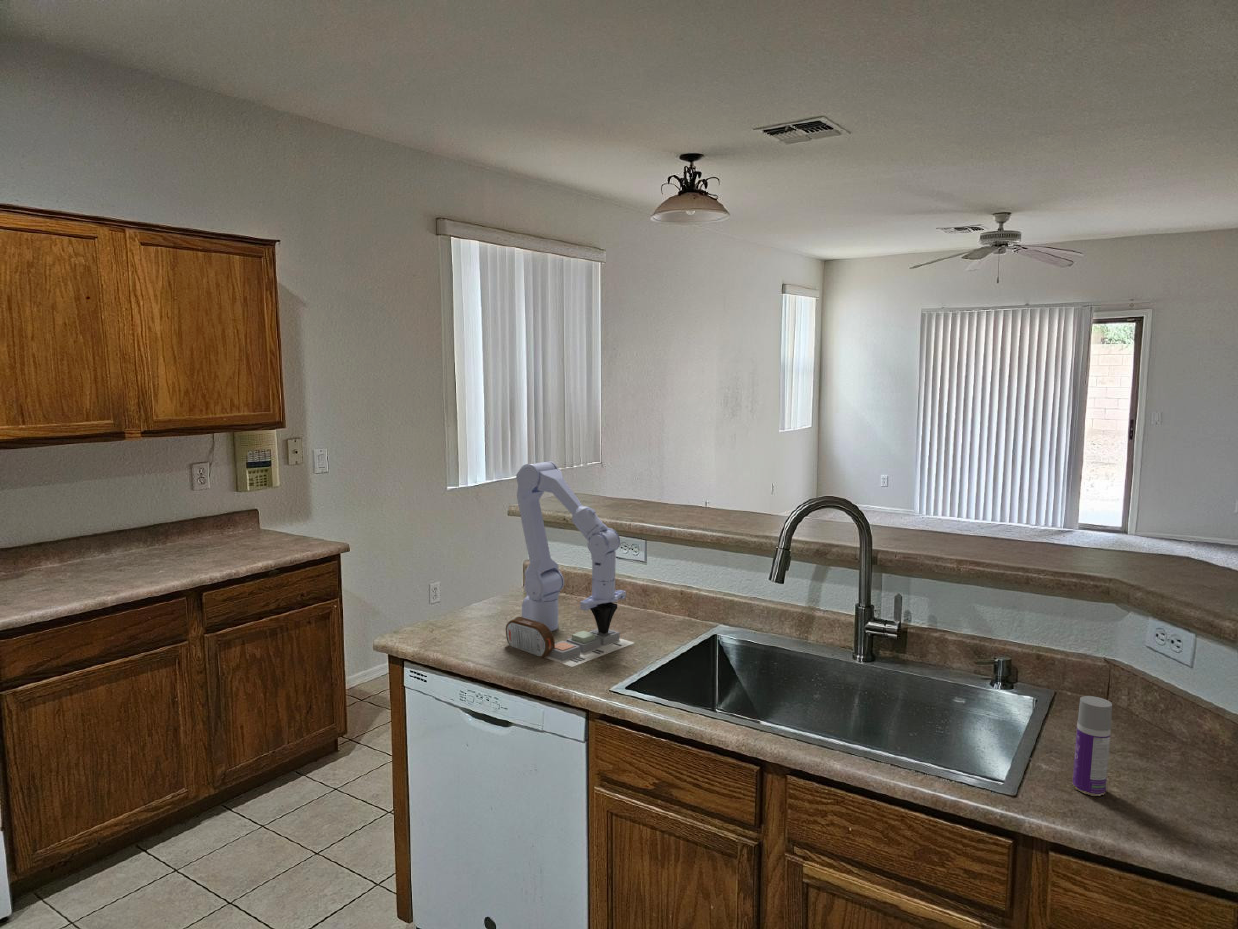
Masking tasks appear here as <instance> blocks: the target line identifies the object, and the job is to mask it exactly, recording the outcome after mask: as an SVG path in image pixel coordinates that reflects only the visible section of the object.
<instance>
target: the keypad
mask: <svg viewBox="0 0 1238 929" xmlns="http://www.w3.org/2000/svg"><path fill="white" fill-rule="evenodd" d="M596 630H598V628H596V629H593V630H591V631H588V632H589V633H592V632H593V631H596ZM609 630H610V631H613V632H614V633H613V634H610V635H607V636H604V637H603V636H600V635H596V634H595V640H593V641H590V642H588V643H585V644H583V643H580V642H577V641H573V640H572V637H569V638H566V640H560V641H558V642H555V645H556V644H558V643H561V642H565V643H568V644H571V645H574V646H575V647H574V648H571V649H568V650H565V651H560V650H557V649H552V651H551V653H550V654H549V655H548V656H547V657H544V659H548V660H551V661H554V662H556V663H560V664H563V665H565V666H568V667H571V668H573V667H576V666H579V665H581V664H583V663H586V662H589V661H591V660H594V659H597V658H599V657H602V656H605V655H607V654H610V653H612V652H615V651H619V650H621V649H623V648H626V647H628V646H631V645H633V644H635V642H634V641H630V640H627V639H623V638H620V633H621V632H620V631H618V630H617V631H616V630H613V629H610V628H609ZM592 634H593V633H592Z"/></svg>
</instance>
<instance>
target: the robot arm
mask: <svg viewBox="0 0 1238 929" xmlns="http://www.w3.org/2000/svg"><path fill="white" fill-rule="evenodd" d="M563 475H564V474H563V471H562V470H561V469H559V468H558V466H557V464H556V463H555V462H553V461H550V460H546V461H542V462H535V463H527V464H523V465H522V466H521V467H520V468H519V470H518V472H516V475H515V476H516V482H517V489H516V490H517V491H516V500H517V506H518V509H519V514H520V520H521V525H522V530H523V535H524V540H525V544H526V549H527V550H526V551H527V555H528V561H529V563H528V566H527V567H526V568H525V571H524V578H525V579H524V591H525V594H526V596H525V597H524V598H523V601H522V604H521V617H523V618H526V619H530V620H533V621H537V622H541V623H543V624H545V625H546V626H547V627H548V628H549V629H550V631H551V632H553V631H555V630H556V631H557V630H558V628H559V596H560V592H561V591H562V590H563V588H564V585H565V578H564V576H563V574H562V572H561V571H560V567H559V563H557V562H556V561H555V560H553V559H552V558H551V553H550V547H549V543H548V538H547V533H546V528H545V523H544V518H543V513H542V507H541V503H540V499H541V497H542V496H543V495H544V493H545V492H546V493H550V494H553V495H554V496H555V497H556V499H557V500H558V501H559V502H560V503H561V505H563V506H564V508H565V509H566V510H567V511H568V512H569V513H571V515H572V516H571V522H572V523H573V525H574V526H575V527H576V529H578V531H579V532H580V533H581V534H582V536H583V537H584V539H586V541H587V549H588V552H589V553H590V554H591V555H590V556H591V561H592V562H591V563H592V565H591V566H592V567H591V568H592V569H591V571H592V572H591V576H592V577H591V578H592V579H591V595H589V597H587V598H585V599H584V600H581V601H580V603H579V604H580V606H579V609H580V610H582V611H585V612H586V611H589V609H590V611H591V614H592V615H593V616H594V620H595V622H596V623H595V624H596V626H597V629H598V631H599V632H601V633H604V634H605V633H608V630H609V629H610V627H611V622H612V619H613V616H614V614H615V612H616V611H617V609H618V604H617V602H618V601H619V600H625V599H627V597H626V591H625V590H622V589H617V590H616V555H617V554H616V551H617V550H618V549H619V548H620V546H621V539H620V535H619V533H618V532H617V530H615V529H613V528H611V527H608V526H607V525H606V524H604V523H603V521H602V520H601V519H600V518H599V516H598V515H597V512H596V510H595V509H594V508H591V507H590V506H585V505H583V504H582V503H581V501H580V500H579V498H578V497H577V496H576V494H575V492H574V491H573V490H572V489H571V487H570V485H568V483H567V482H566V480H565V478H564V476H563Z"/></svg>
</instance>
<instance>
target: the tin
mask: <svg viewBox="0 0 1238 929" xmlns="http://www.w3.org/2000/svg"><path fill="white" fill-rule="evenodd" d="M552 632H553V631H550V629H549V628H548V627H547V626H546V625H545V624H543V623H541V622H537V621H533V620H530V619H526V618H523V617H522V616H517V617H515V618H513V619H511V620H510V621H508V622H507V623H506V625H505V637H506V641H507V643H508V645H509V647H511V648H515V649H518V650H521V651H524V652H526V653H529V654H532V655H534V656H538V657H540V658H544V659H545V657H547V656H548V655H549V654H550V653H551V651H552V649H554V648H555V643H556V642H555V637H554V635H553V633H552Z"/></svg>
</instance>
